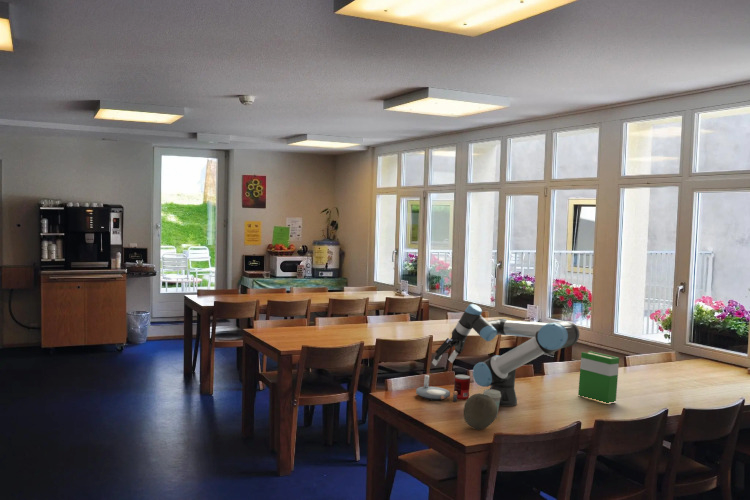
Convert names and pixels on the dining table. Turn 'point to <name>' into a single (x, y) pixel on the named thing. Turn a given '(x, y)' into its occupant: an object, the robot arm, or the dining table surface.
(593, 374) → the hardback book
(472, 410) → the cantaloupe
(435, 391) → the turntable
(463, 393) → the canned food
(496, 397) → the coffee cup
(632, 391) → the dining table surface
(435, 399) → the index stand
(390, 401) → the dining table surface
